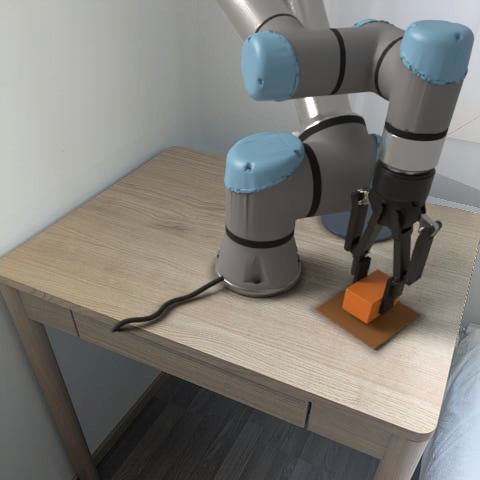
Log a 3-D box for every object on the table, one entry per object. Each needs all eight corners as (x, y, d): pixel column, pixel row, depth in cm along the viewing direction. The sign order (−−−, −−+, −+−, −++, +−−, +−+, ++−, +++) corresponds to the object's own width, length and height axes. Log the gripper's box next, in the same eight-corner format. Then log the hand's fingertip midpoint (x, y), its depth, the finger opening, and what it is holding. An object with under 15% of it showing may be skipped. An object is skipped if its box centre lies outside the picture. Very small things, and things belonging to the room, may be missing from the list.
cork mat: (374, 350, 74) (375, 348, 74) (315, 310, 81) (315, 308, 81) (419, 316, 80) (420, 314, 80) (361, 281, 87) (361, 279, 87)
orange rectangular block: (366, 324, 76) (372, 304, 73) (341, 308, 79) (345, 288, 76) (397, 302, 80) (403, 283, 77) (372, 288, 83) (377, 268, 80)
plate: (366, 252, 94) (367, 249, 93) (304, 218, 102) (305, 215, 102) (414, 223, 102) (415, 221, 101) (353, 194, 110) (354, 192, 110)
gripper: (486, 179, 60) (432, 320, 76) (368, 133, 70) (342, 266, 86) (454, 198, 56) (404, 342, 72) (333, 147, 66) (313, 284, 82)
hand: (370, 301), depth 79 cm, fingers closed on orange rectangular block, 5 cm apart
